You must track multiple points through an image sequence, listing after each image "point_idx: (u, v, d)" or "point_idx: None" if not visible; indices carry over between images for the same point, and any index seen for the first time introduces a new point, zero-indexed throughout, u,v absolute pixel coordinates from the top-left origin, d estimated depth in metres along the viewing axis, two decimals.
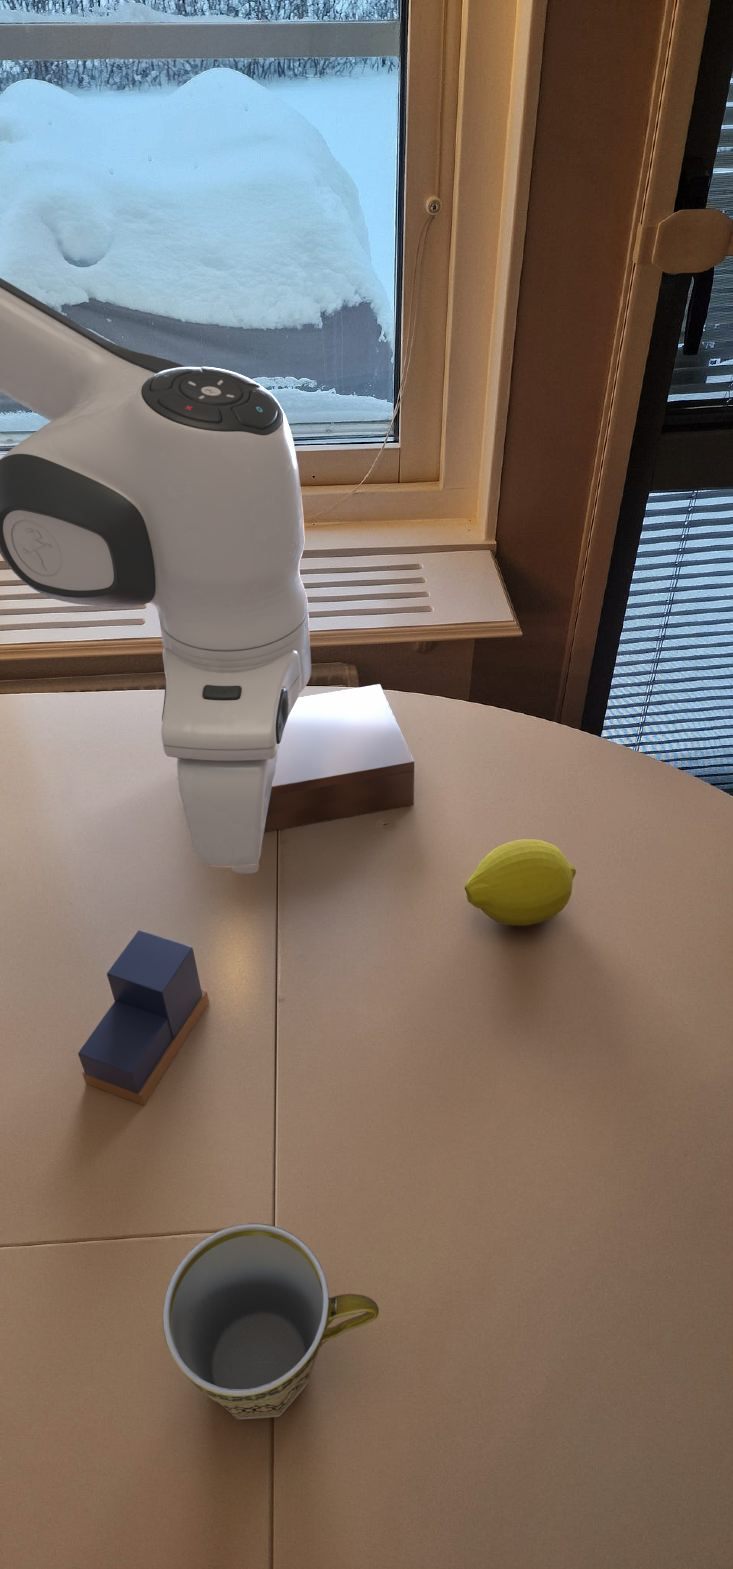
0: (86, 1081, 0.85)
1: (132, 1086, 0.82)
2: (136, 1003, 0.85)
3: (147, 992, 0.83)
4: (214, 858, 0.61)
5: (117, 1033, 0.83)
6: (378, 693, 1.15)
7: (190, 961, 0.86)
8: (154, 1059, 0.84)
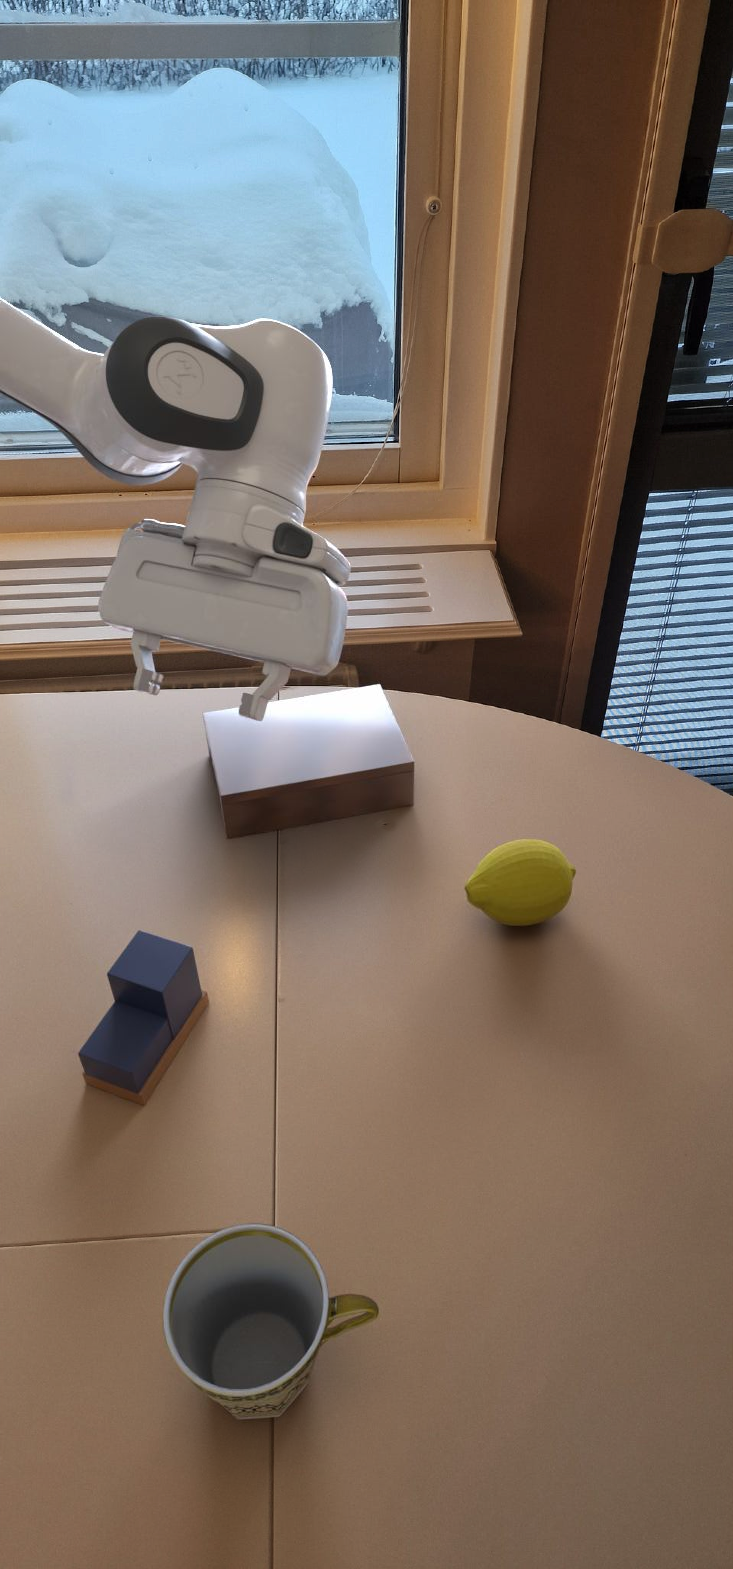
0: (86, 1081, 0.85)
1: (132, 1086, 0.82)
2: (136, 1003, 0.85)
3: (147, 992, 0.83)
4: (329, 655, 0.78)
5: (117, 1033, 0.83)
6: (378, 693, 1.15)
7: (190, 961, 0.86)
8: (154, 1059, 0.84)
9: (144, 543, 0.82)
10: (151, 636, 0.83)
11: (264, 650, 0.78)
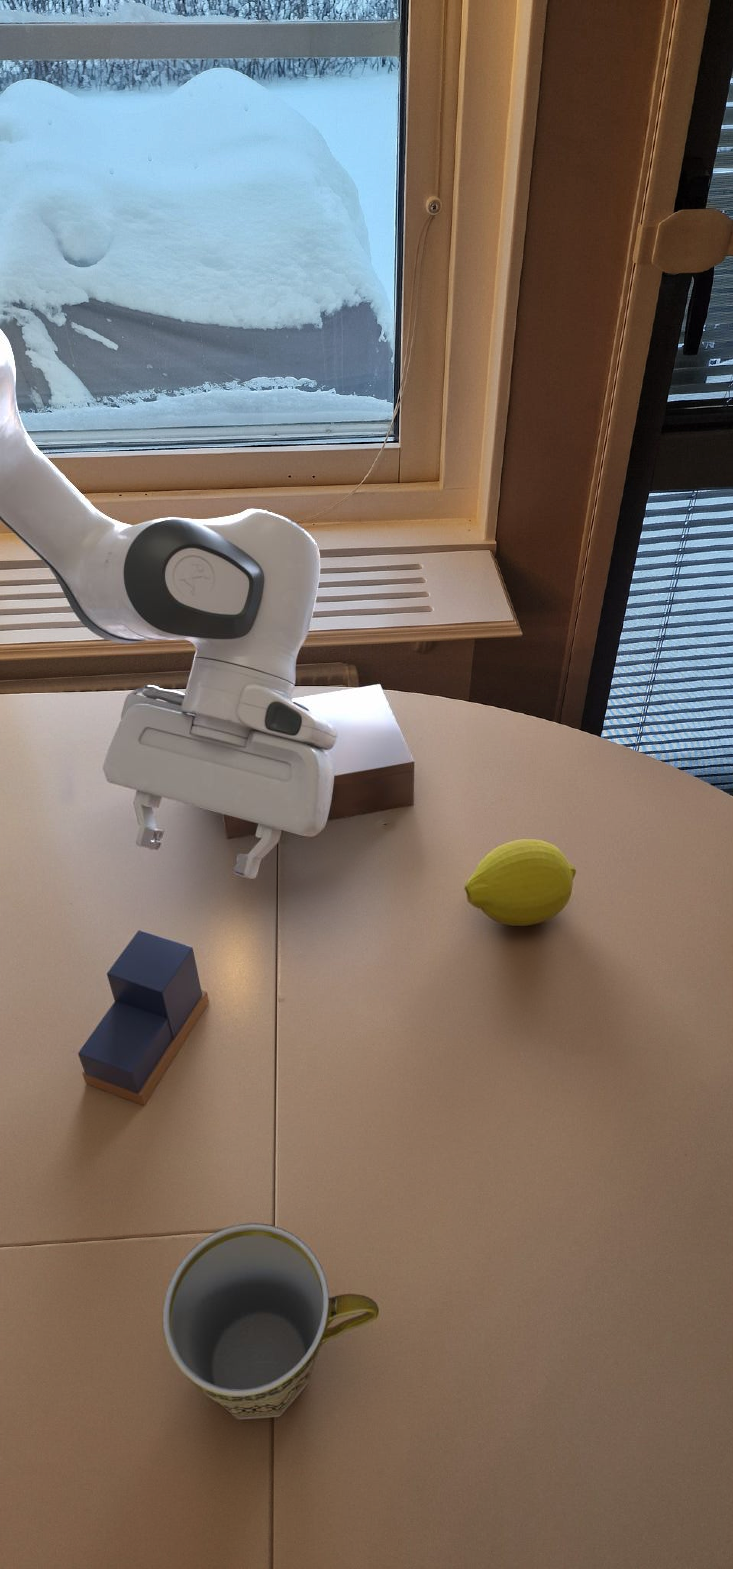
0: (86, 1081, 0.85)
1: (132, 1086, 0.82)
2: (136, 1003, 0.85)
3: (147, 992, 0.83)
4: (317, 822, 0.85)
5: (117, 1033, 0.83)
6: (378, 693, 1.15)
7: (190, 961, 0.86)
8: (154, 1059, 0.84)
9: (146, 711, 0.89)
10: (152, 796, 0.89)
11: (257, 816, 0.85)
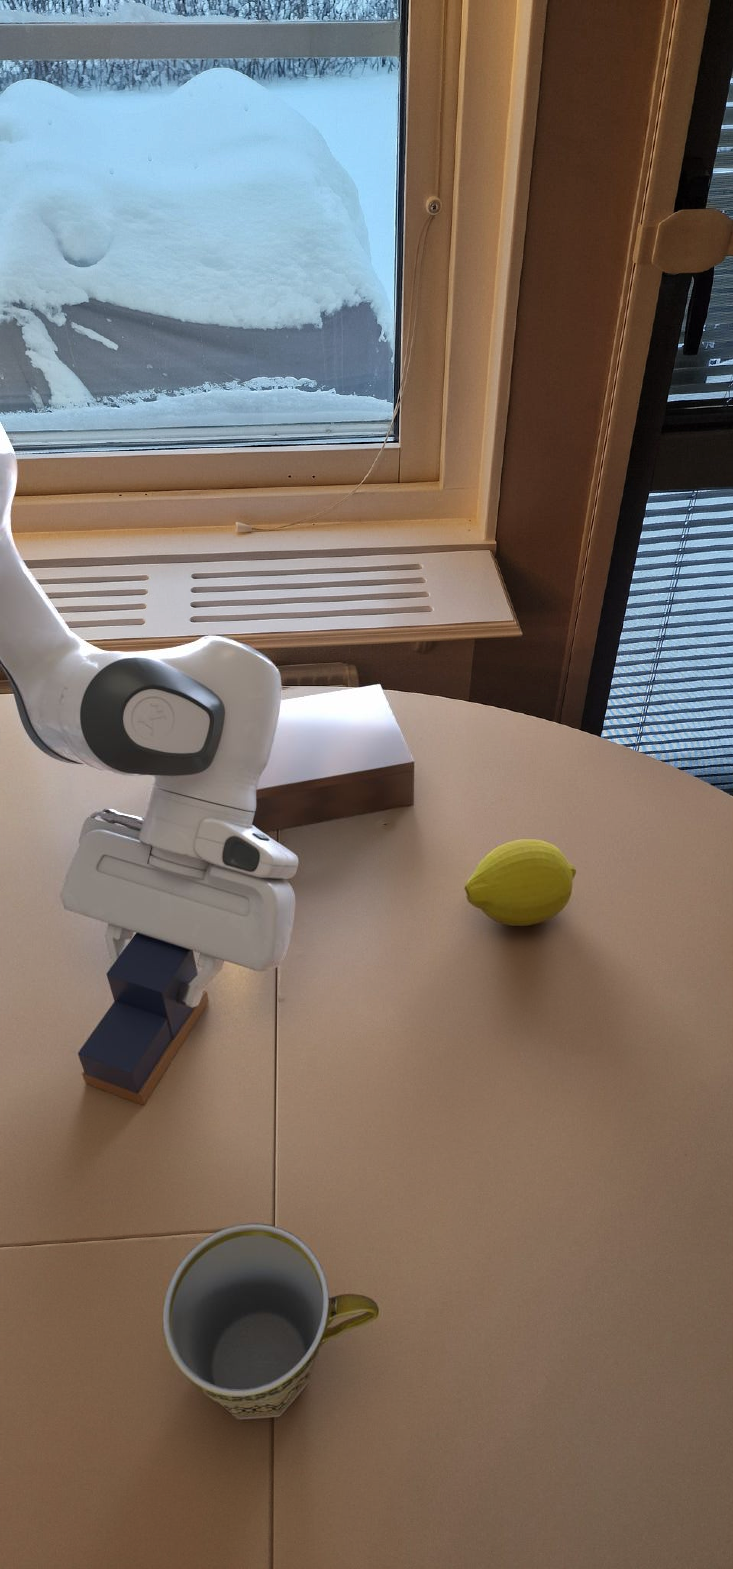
0: (86, 1081, 0.85)
1: (132, 1086, 0.82)
2: (136, 1003, 0.85)
3: (147, 992, 0.83)
4: (276, 957, 0.83)
5: (117, 1033, 0.83)
6: (378, 693, 1.15)
7: (190, 961, 0.86)
8: (154, 1059, 0.84)
9: (104, 838, 0.87)
10: (124, 928, 0.87)
11: (215, 951, 0.83)
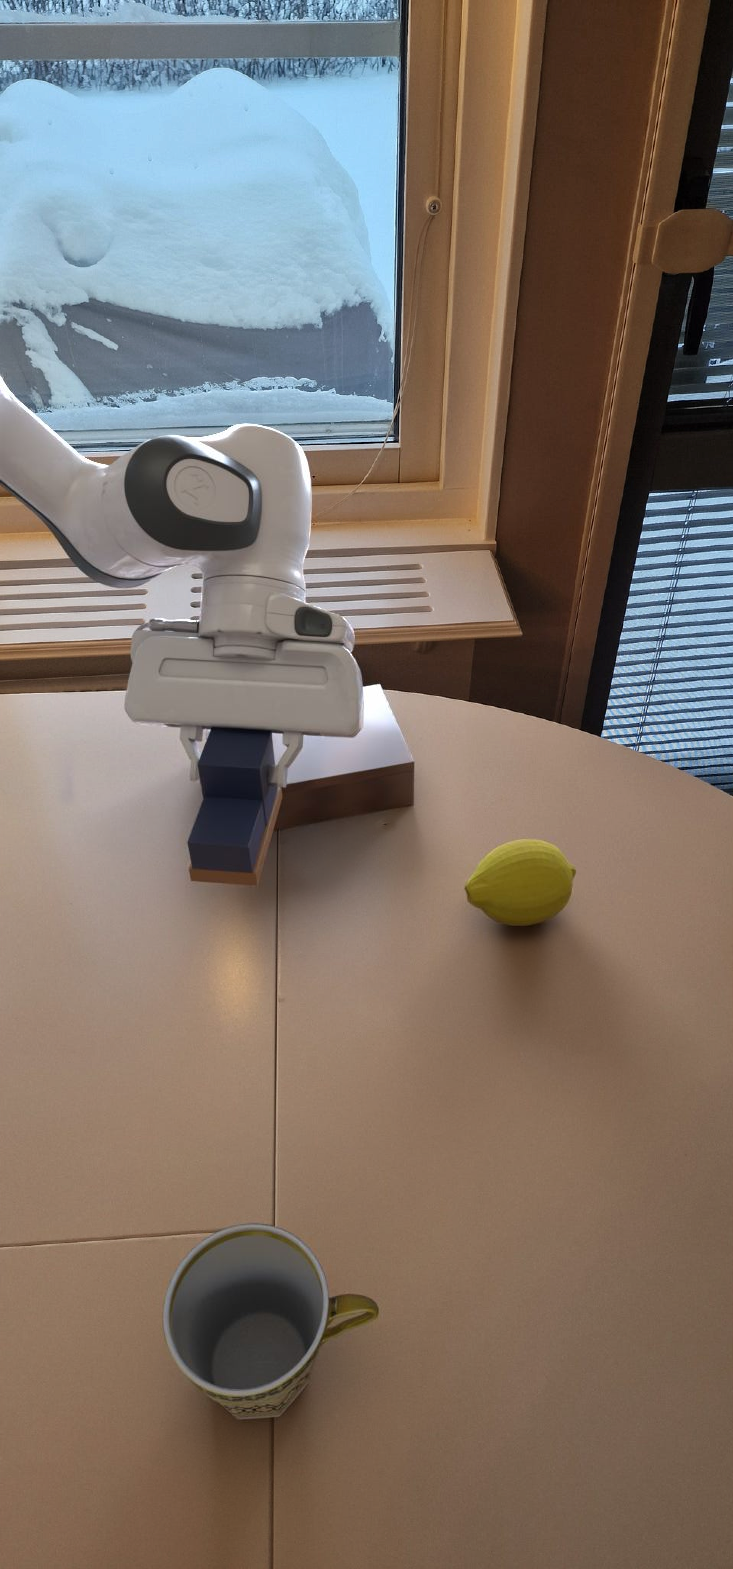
0: (192, 877, 0.85)
1: (247, 864, 0.83)
2: (228, 792, 0.85)
3: (243, 773, 0.84)
4: (360, 719, 0.86)
5: (219, 820, 0.84)
6: (378, 693, 1.15)
7: (271, 745, 0.87)
8: (258, 840, 0.85)
9: (161, 642, 0.87)
10: (198, 728, 0.87)
11: (300, 724, 0.85)
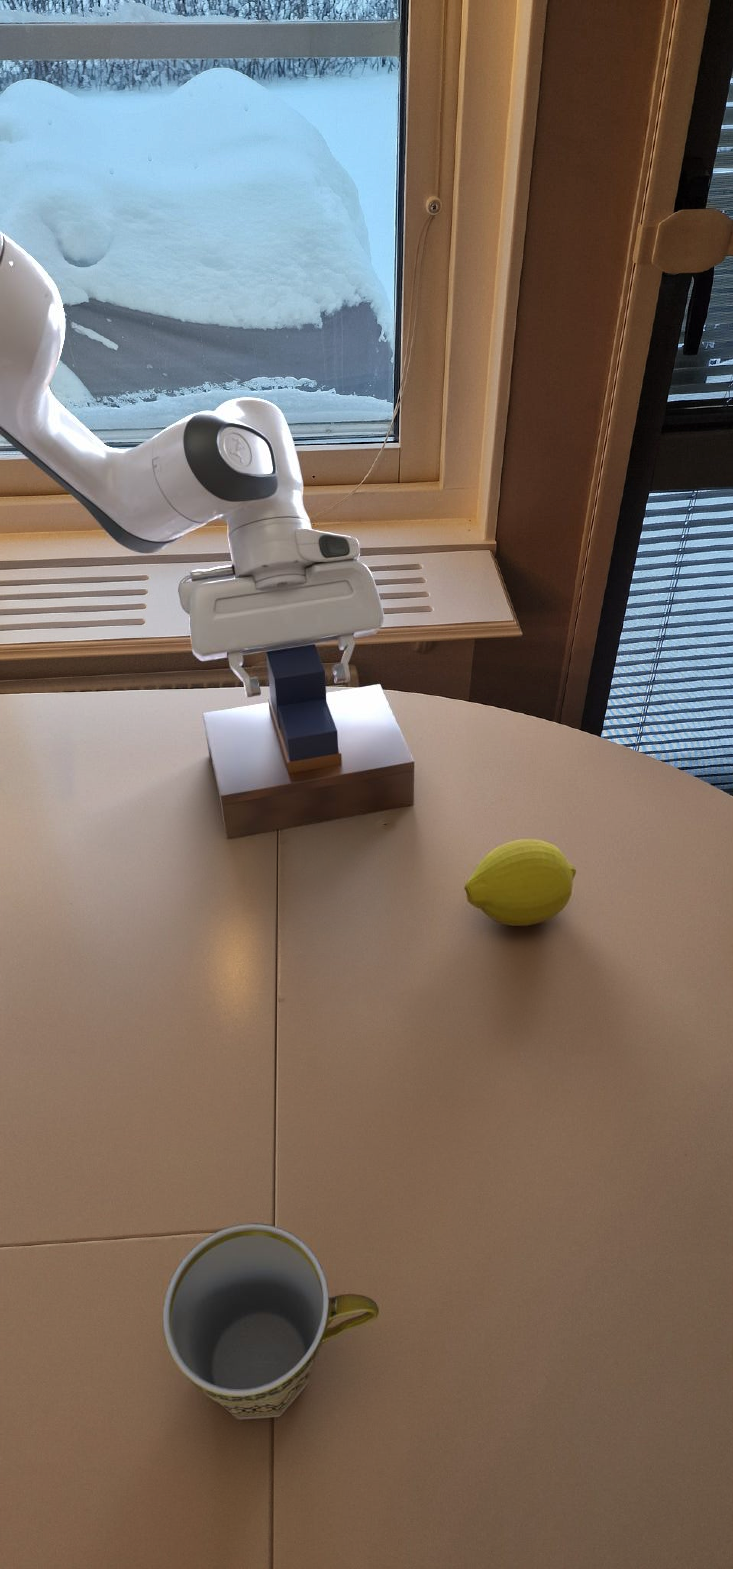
0: (289, 770, 1.04)
1: (335, 747, 1.04)
2: (298, 697, 1.06)
3: (311, 678, 1.05)
4: None
5: (302, 719, 1.04)
6: (378, 693, 1.15)
7: None
8: None
9: (210, 587, 1.05)
10: (242, 653, 1.06)
11: (340, 628, 1.07)
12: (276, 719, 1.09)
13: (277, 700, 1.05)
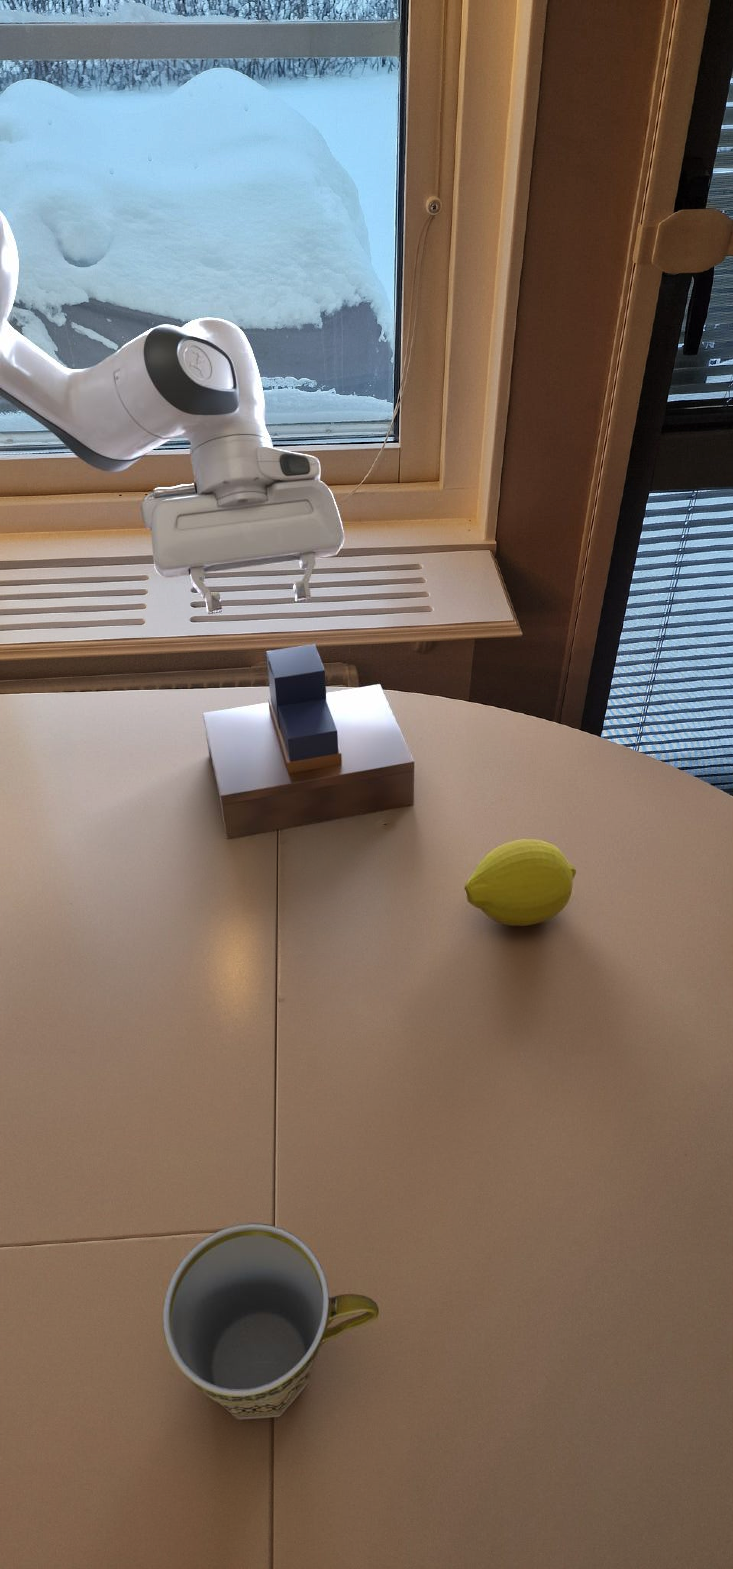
0: (289, 770, 1.04)
1: (335, 747, 1.04)
2: (298, 697, 1.06)
3: (311, 678, 1.05)
4: None
5: (302, 719, 1.04)
6: (378, 693, 1.15)
7: None
8: None
9: (172, 503, 1.07)
10: (203, 569, 1.08)
11: (301, 546, 1.08)
12: (276, 719, 1.09)
13: (277, 700, 1.05)
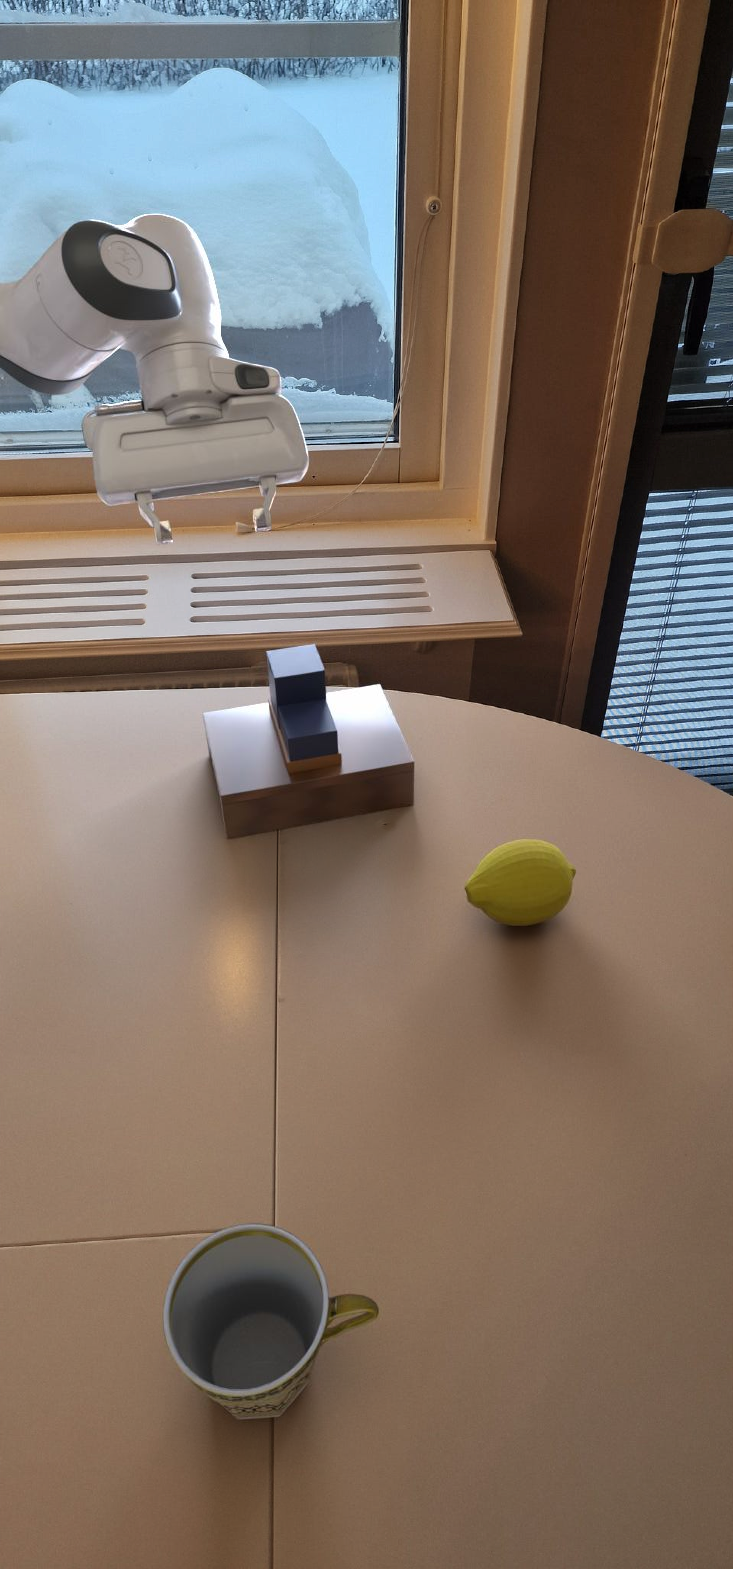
0: (289, 770, 1.04)
1: (335, 747, 1.04)
2: (298, 697, 1.06)
3: (311, 678, 1.05)
4: None
5: (302, 719, 1.04)
6: (378, 693, 1.15)
7: None
8: None
9: (116, 420, 0.96)
10: (151, 494, 0.97)
11: (260, 469, 0.97)
12: (276, 719, 1.09)
13: (277, 700, 1.05)
